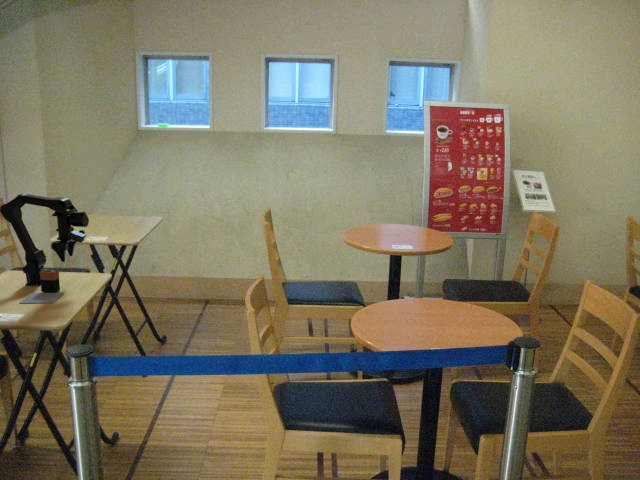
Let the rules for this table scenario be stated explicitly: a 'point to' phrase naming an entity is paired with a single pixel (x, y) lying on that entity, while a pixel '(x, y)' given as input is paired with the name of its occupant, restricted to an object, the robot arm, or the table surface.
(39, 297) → the mat
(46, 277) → the battery
